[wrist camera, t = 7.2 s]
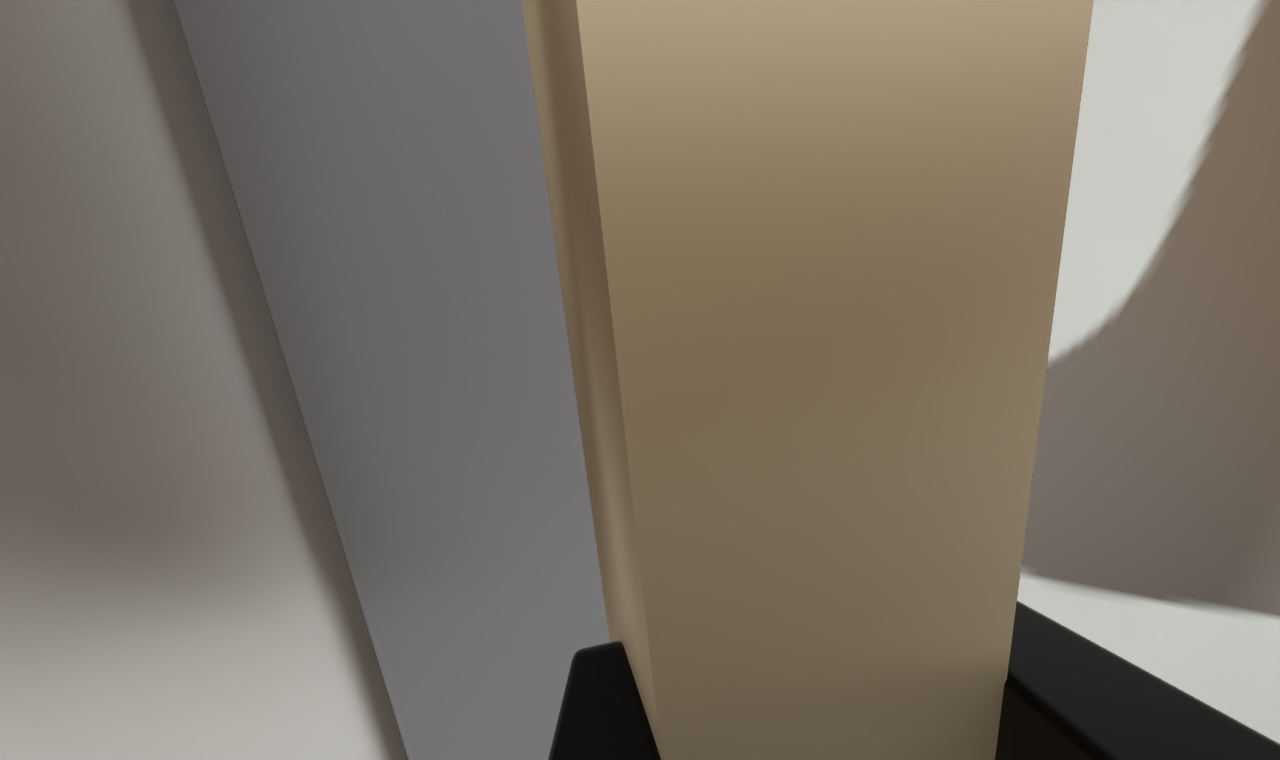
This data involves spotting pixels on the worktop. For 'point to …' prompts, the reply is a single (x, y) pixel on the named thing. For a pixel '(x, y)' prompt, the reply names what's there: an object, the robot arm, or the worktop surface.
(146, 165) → the worktop surface
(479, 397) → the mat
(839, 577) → the stick
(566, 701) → the robot arm
